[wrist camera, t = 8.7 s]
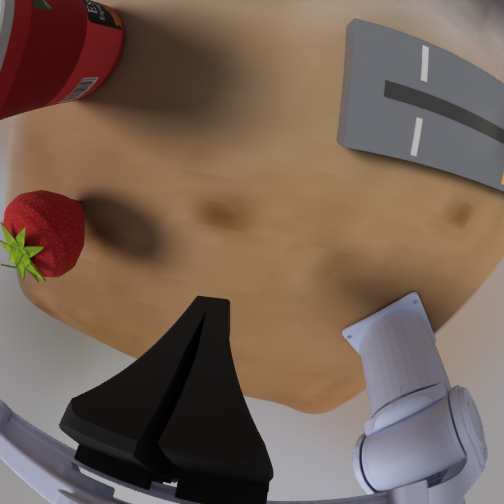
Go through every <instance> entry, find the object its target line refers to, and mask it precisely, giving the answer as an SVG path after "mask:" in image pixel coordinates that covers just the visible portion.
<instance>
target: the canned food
mask: <svg viewBox="0 0 504 504" xmlns="http://www.w3.org/2000/svg"><path fill="white" fill-rule="evenodd" d="M124 37H125V33H124V26H123V23H122V20H121V19H120V17H119V16H118V15H117V13H116V12H115V11H114V10H113V9H112V8H110V7H109V6H106V5H103V4H100V3H97V2H94V1H90V0H0V120H2V119H4V118H8V117H11V116H14V115H17V114H20V113H24V112H27V111H31V110H35V109H39V108H43V107H47V106H51V105H56V104H60V103H65V102H70V101H75V100H78V99H81V98H83V97H85V96H87V95H88V94H90V93H92V92H93V91H95V90H96V89H97V88H99V87H100V86H101V85H102V84H103V83H104V82H105V81H106V80H107V79H108V77H109V76H110V74H111V73H112V72H113V70H114V68H115V66H116V65H117V63H118V61H119V58H120V56H121V53H122V49H123V45H124Z"/></svg>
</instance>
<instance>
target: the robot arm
mask: <svg viewBox="0 0 504 504" xmlns="http://www.w3.org/2000/svg"><path fill="white" fill-rule="evenodd" d="M414 300H415V301H414ZM342 334H343V336H344V338H345V339H346V340H347V341H348V342H349V343H350V344H351V345H352V347H353V348H354V349H355V350H356V351H357V352H358V353H359V355H360V356H361V359H362V365H363V370H364V375H365V381H366V387H367V392H368V399H369V405H370V412H371V419H370V420H369V421H367V422H365V423H364V426H365V433H364V434H362V435H361V436H360V437H359V438H358V440H357V442H356V444H355V448H354V452H353V457H352V466H353V472H354V475H355V478H356V480H357V482H358V483H359V484H360V486H361V487H362V488H363V489H364V490H365V492H366V493H367V495H364V496H357V497H350V498H341V499H331V500H318V501H267V493H268V491H269V482H270V481H271V479H272V478H273V468H272V464H271V461H270V458H269V455H268V452H267V450H266V446H265V443H264V441H263V440H262V438H261V436H260V434H259V432H258V430H257V428H256V426H255V423H254V421H253V419H252V417H251V415H250V413H249V410H248V407H247V404H246V402H245V399H244V397H243V394H242V391H241V388H240V385H239V382H238V378H237V375H236V371H235V367H234V363H233V358H232V353H231V348H230V341H229V336H230V301H229V300H228V299H220V298H212V297H204V296H197V297H196V298H195V299H194V301H193V302H192V303H191V305H190V306H189V307H188V308H187V310H186V311H185V312H184V313H183V314H182V316H181V317H180V318H179V319H178V320H177V321H176V323H175V324H174V325H173V326H172V327H171V328H170V329H169V330H168V331H167V332H166V333H165V334H164V335H163V336H162V337H161V338H160V339H159V340H158V341H157V342H156V343H155V344H154V345H153V346H152V347H151V348H150V349H149V350H148V351H147V352H146V353H145V354H143V355H142V356H141V357H140V358H139V359H137V360H136V361H135V362H134V363H132V364H131V365H130V366H128V367H127V368H126V369H124V370H123V371H121V372H120V373H119V374H117V375H115V376H114V377H112V378H111V379H109V380H107V381H106V382H104V383H102V384H101V385H99V386H97V387H95V388H93V389H91V390H89V391H87V392H85V393H83V394H81V395H79V396H77V397H74V398H72V400H71V401H70V403H69V405H68V406H67V408H66V411H65V413H64V415H63V417H62V420H61V422H60V424H59V426H60V429H61V430H62V431H63V432H64V433H66V434H67V435H68V436H69V437H71V438H72V439H73V440H75V441H76V442H77V443H79V446H78V449H77V451H76V450H74V449H72V448H71V447H69V446H67V445H65V444H63V443H61V442H59V441H58V440H56V439H54V438H52V437H51V436H49V435H48V434H46V433H44V432H43V431H41V430H39V429H38V428H36V427H35V426H33V425H32V424H30V423H29V422H27V421H26V420H24V419H23V418H21V417H20V416H19V415H17V414H16V413H14V412H13V411H12V410H11V409H10V408H9V407H8V406H7V405H6V404H5V403H4V402H2V401H1V400H0V457H1V459H2V460H3V461H4V462H5V463H6V464H7V465H8V466H9V467H10V468H11V469H12V470H13V471H14V472H15V473H16V474H17V475H19V476H20V477H21V478H22V479H23V480H24V481H25V482H26V483H27V484H29V485H30V486H31V487H32V488H33V489H34V490H35V491H37V492H38V493H39V494H40V495H41V496H43V497H44V498H45V499H47V500H48V501H49V502H50V503H52V504H131V503H128V502H125V501H123V500H120V499H117V498H115V497H113V494H114V491H115V489H114V488H113V487H110V486H108V485H106V484H103V483H101V482H99V481H97V480H94V479H92V478H90V477H88V476H86V475H84V474H82V473H81V472H80V469H79V467H81V468H83V469H86V470H87V471H89V472H92V473H94V474H96V475H98V476H100V477H102V478H105V479H107V480H109V481H112V482H114V483H117V484H119V485H122V486H125V487H127V488H130V489H133V490H135V491H138V492H141V493H145V494H147V495H151V496H154V497H157V498H161V499H164V500H168V501H172V502H176V503H180V504H465V499H464V495H465V494H466V493H467V491H468V490H469V489H470V488H471V487H472V486H473V484H474V483H475V482H476V480H477V479H478V478H479V476H480V475H481V473H482V472H483V470H484V468H485V464H486V460H487V453H488V452H487V446H486V442H485V438H484V430H483V426H482V422H481V418H480V415H479V412H478V410H477V407H476V405H475V402H474V400H473V398H472V396H471V394H470V393H469V391H468V390H467V389H466V388H463V387H460V386H458V385H457V386H455V387H453V388H451V386H450V383H449V380H448V378H447V374H446V372H445V369H444V366H443V364H442V361H441V358H440V356H439V353H438V351H437V348H436V346H435V342H436V339H435V336H434V333H433V330H432V328H431V325H430V322H429V320H428V317H427V315H426V312H425V310H424V307H423V305H422V303H421V300H420V298H419V295H418V293H417V292H412V293H410V294H408V295H406V296H405V297H403V298H401V299H400V300H398V301H396V302H394V303H393V304H391V305H389V306H387V307H386V308H384V309H382V310H380V311H378V312H376V313H375V314H373V315H371V316H369V317H367V318H365V319H363V320H361V321H359V322H357V323H355V324H353V325H351V326H349V327H347V328H345V329H344V330H343V331H342ZM78 466H79V467H78ZM163 482H166V483H171V482H174V483H175V482H178V483H177V487H172V486H169V485H165V484H163Z"/></svg>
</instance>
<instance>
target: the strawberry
mask: <svg viewBox="0 0 504 504" xmlns="http://www.w3.org/2000/svg"><path fill="white" fill-rule="evenodd" d="M1 225H2V228H3V232H4V235H5V238H6V241H7V243H8V244H7V243H5V242H2V241H0V244H1V245H2V246H3V247H4V248H5V249H6V250H7V251H8V252H9V253H10V260H9V263H13V262H15V263H16V267H14V266H9V265H4V264H1V265H2V266H7V267H12V268H18V270H19V273H20V275H21V278H22V280H24V277H25V270H26V269H27V271H28V272H29V273H30V274H31V275H32V276H33V278H34V279H35V280H36V281H37V282H39V280H38V278H37V277H36V276H38V277H39V278H41V279H42V280H44V281H46V279H45V278H44V277H43V276H45V277H59V276H61V275H63V274H65V273H66V272H68V271H69V270H71V269H72V268H73V267H74V266H75V264H76V262H77V260H78V258H79V255H80V253H81V251H82V249H83V246H84V234H85V221H84V209H83V206H82V204H81V203H80V202H79V201H77V200H74V199H70V198H68V197H66V196H64V195H61V194H57V193H53V192H49V191H44V190H39V191H33V192H29V193H24V194H20V195H18V196H17V197H16V198H15V199H14V200H13V201H12V202H11V203H10V204H9V205H8V206H7V208H6V210H5V214H4V222H3V223H1Z"/></svg>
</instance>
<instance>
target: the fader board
mask: <svg viewBox="0 0 504 504" xmlns="http://www.w3.org/2000/svg"><path fill="white" fill-rule="evenodd" d="M337 142H338V143H339V144H340V145H341V146H343V147H345V148H351V149H356V150H362V151H367V152H372V153H377V154H382V155H386V156H391V157H395V158H399V159H404V160H408V161H412V162H415V163H419V164H423V165H427V166H430V167H434V168H437V169H441V170H444V171H447V172H450V173H454V174H457V175H460V176H463V177H466V178H469V179H472V180H475V181H477V182H480V183H483V184H486V185H488V186H491V187H493V188H496V189H499V190H501V191H503V192H504V83H502V82H501V81H499V80H498V79H496V78H495V77H493V76H492V75H490V74H489V73H487V72H485V71H484V70H482V69H480V68H479V67H477V66H475V65H473V64H472V63H470V62H468V61H466V60H464V59H462V58H461V57H459V56H457V55H455V54H453V53H451V52H449V51H447V50H444V49H442V48H440V47H438V46H436V45H433V44H431V43H429V42H426V41H424V40H421V39H419V38H416V37H414V36H411V35H409V34H406V33H403V32H400V31H397V30H394V29H391V28H388V27H385V26H381V25H378V24H375V23H371V22H367V21H363V20H359V19H355V18H354V19H353V20H352V21H351V22H350V23H349V24H348V25H347V31H346V51H345V66H344V79H343V90H342V100H341V110H340V119H339V127H338V135H337Z"/></svg>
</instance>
